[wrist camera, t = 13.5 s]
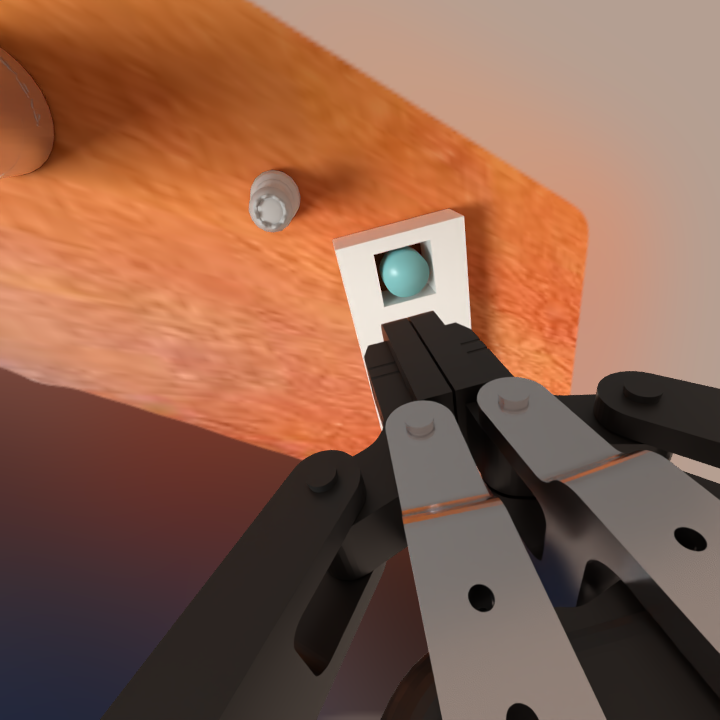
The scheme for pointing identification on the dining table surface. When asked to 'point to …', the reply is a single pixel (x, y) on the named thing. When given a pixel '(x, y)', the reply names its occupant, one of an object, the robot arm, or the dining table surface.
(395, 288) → the teal button
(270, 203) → the rook chess piece
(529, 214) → the dining table surface
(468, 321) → the button console
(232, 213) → the dining table surface
